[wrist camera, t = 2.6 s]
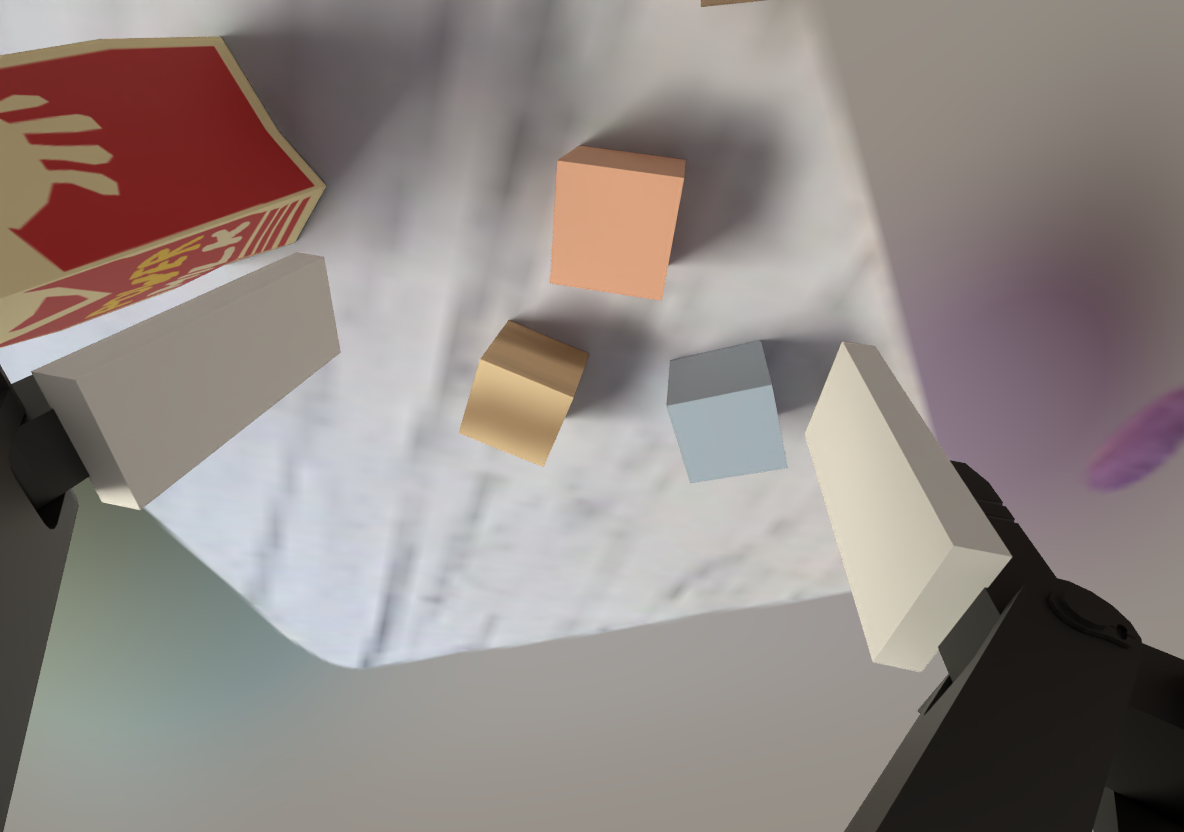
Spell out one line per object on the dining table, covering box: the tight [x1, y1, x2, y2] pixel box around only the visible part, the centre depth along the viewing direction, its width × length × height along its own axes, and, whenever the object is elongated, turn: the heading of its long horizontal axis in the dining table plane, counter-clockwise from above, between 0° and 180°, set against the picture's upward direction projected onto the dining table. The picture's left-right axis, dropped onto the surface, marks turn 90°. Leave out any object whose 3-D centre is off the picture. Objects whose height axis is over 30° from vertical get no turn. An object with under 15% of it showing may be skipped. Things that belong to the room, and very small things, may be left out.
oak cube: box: [459, 320, 589, 467], centre depth 30 cm, size 5×5×5 cm
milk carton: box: [0, 37, 326, 348], centre depth 20 cm, size 9×9×20 cm
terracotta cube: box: [550, 145, 686, 301], centre depth 24 cm, size 5×5×5 cm
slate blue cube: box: [667, 340, 788, 483], centre depth 29 cm, size 5×5×5 cm
